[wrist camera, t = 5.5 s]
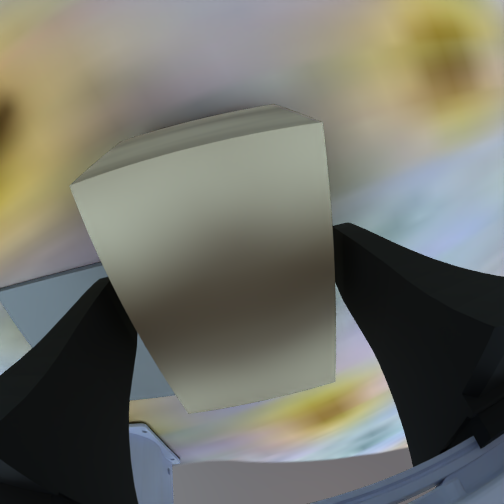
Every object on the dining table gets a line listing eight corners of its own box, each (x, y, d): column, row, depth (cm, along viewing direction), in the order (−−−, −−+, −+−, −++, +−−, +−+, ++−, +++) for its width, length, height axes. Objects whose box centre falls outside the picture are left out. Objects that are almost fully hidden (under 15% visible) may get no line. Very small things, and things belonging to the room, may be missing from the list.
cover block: (301, 299, 15) (335, 381, 11) (187, 325, 15) (188, 413, 11) (273, 103, 10) (322, 121, 6) (121, 141, 10) (69, 185, 6)
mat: (176, 390, 22) (176, 394, 22) (80, 400, 22) (79, 403, 22) (107, 260, 16) (105, 264, 16) (-3, 289, 16) (-5, 292, 15)
